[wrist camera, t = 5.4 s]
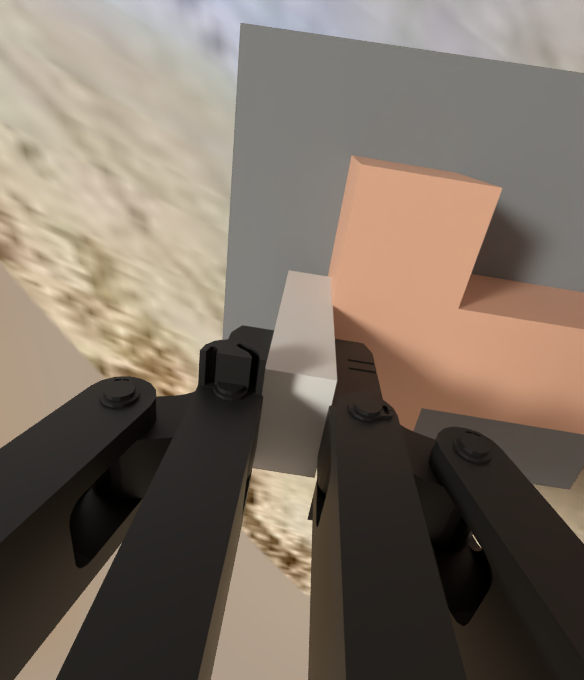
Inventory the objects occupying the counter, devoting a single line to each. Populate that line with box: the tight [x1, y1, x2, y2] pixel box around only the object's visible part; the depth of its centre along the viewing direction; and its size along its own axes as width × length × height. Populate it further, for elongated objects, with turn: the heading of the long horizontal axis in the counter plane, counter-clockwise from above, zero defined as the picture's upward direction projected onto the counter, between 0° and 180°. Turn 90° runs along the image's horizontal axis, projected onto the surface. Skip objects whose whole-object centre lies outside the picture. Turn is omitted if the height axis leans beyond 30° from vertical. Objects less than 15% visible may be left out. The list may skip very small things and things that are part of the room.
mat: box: [223, 23, 584, 489], centre depth 16 cm, size 16×17×1 cm
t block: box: [328, 155, 584, 434], centre depth 14 cm, size 10×10×4 cm
